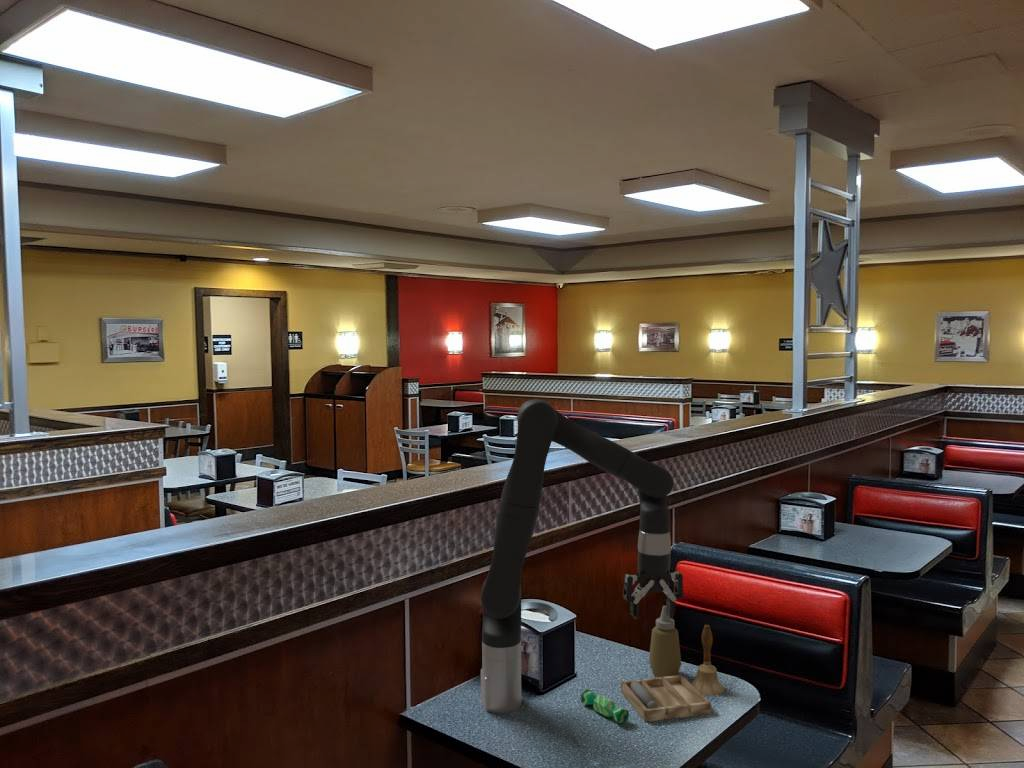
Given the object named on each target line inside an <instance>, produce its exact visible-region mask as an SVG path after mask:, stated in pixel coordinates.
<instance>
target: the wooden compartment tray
mask: <svg viewBox="0 0 1024 768" xmlns="http://www.w3.org/2000/svg"><path fill="white" fill-rule="evenodd" d="M633 681H638V682H639V683H640V684H641V685H642V686H643V688H644V689H645V690H646V691H647V692H648V693H649V695H650V696H651V697H652V698H653V699H654V700H655V701H656V703H657V705H658V707H657V708H651V709H648V708H647V707H646V706H645V705H644V704H643V702H642V701H641V700H640V699H639V698H638V696H637V695H636V694H635V693H634V692H633V690H632V689H631V683H632V682H633ZM620 693H621V694H622V695H623V697H624V698H625V699H626V700H627V701H628V702H629V704H630V705H631V706H632V708H633V709H634V710H635V711H636V713H637V714H638V715H639V717H641V719H642V720H643V722H644V723H648V722H647V721H649V722H655V721H656V722H657V721H664V719H665V720H671V719H672V718H673V719H679V718H678V717H680V718H685V717H687V718H688V717H692V716H693V717H694V716H700V715H706V714H711V712H712V711H711V710H712V709H711V706H712V704H711V702H710V701H709V700H708V699H707V697H705V695H702V694H701V693H700V692H699V691H698V690H697V689H696V688H695V687H694V686H693V685H692V684H691V682H690V681H689V680H688V679H687V678H686V677H685V676H684V675H682V674H677V675H676V676H666V677H657V678H656V677H651V678H650V677H649V678H641V679H632V680H624V681H623V680H622V681H620Z"/></svg>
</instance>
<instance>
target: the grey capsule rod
mask: <svg viewBox="0 0 1024 768" xmlns="http://www.w3.org/2000/svg"><path fill="white" fill-rule="evenodd" d="M631 689H632V690H633V692H634V693H635V694H636V695H637V696H638V698H639V699H640V700H641V701H642V702H643V704H644V705H645V706H646V707H647V708H648V709H651V708H657V707H658V705H657V703H656V701H655V700H654V699H653V698H652V697H651V696H650V695H649V693H648V692H647V691H646V690H645V689H644V688H643V686H642V685H641V684H640V683H639V682H638V681H633V682H632V683H631Z"/></svg>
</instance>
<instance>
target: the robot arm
mask: <svg viewBox="0 0 1024 768" xmlns="http://www.w3.org/2000/svg"><path fill="white" fill-rule="evenodd" d="M516 421H517V433H516V443H515V450H514V455H513V460H512V462H511V466H510V468H509V471H508V472H507V473H508V474H507V475H506V479H505V482H504V484H503V488H502V491H501V495H500V501H499V504H498V510H497V514H496V515H497V516H496V523H495V529H494V530H495V532H494V539H493V551H492V558H491V562H490V566H489V570H488V573H487V576H486V578H485V580H484V582H483V584H482V588H481V592H480V602H481V605H482V625H481V627H482V628H481V647H482V648H481V649H482V650H481V652H482V653H481V654H482V655H481V656H482V657H481V660H482V664H481V667H482V668H480V701H481V704H482V706H483V709H484V712H486V713H487V712H488V713H489V712H493V713H498V714H501V713H509V712H513V711H515V710H517V709H519V708H520V707H521V705H522V701H523V700H522V584H521V582H522V575H523V574H522V573H523V568H524V563H525V560H526V556H527V553H528V549H529V547H530V544H531V541H532V538H533V535H534V531H535V527H536V523H537V520H538V516H539V510H540V505H541V499H542V494H543V493H542V492H543V486H544V475H545V466H546V462H547V458H548V454H549V451H550V447H551V444H552V442H553V443H555V444H558V445H560V446H561V447H564V448H566V449H568V450H570V451H571V452H573V454H574V453H575V454H576V455H577V456H579V457H581V458H582V459H584V460H585V461H586V462H588V463H590V464H592V465H593V466H595V467H596V468H598V469H600V470H602V471H604V472H606V473H608V474H610V475H611V476H614V477H616V478H618V479H619V480H623V481H625V482H627V483H628V484H630V485H632V486H633V487H635V488H636V489H638V497H639V506H640V511H639V529H638V530H639V533H638V539H637V573H636V574H629V573H625V574H624V575H623V576H624V577H623V588H622V589H623V591H622V598H623V599H624V600H625V601H626V602H628V603H630V612H629V613H630V615H631V616H632V617H633V619H634V620H639V617H640V603H639V602H640V601H641V600H642V598H644V597H645V596H646V594H653V593H657V594H659V593H660V594H661V593H662V592H663V593H664V594H665V595H666V597H667V599H666V600H665V601H666V603H665V604H666V605H665V606H666V614H667V615H668V616H669V617H670V618H673V615H675V612H676V601H677V600H679V599H683V597H684V579H683V578H684V577H683V576H684V574H682V573H680V572H679V571H678V570H675V571H674V572H670V571H671V570H670V569H671V543H672V542H671V532H670V531H671V511H670V510H669V506H668V497H667V496H668V495H670V493H672V491H673V489H674V484H675V482H674V477H673V476H672V474H671V473H670V471H669V470H667V469H666V468H665V467H663V466H662V465H660V464H658V463H652V462H651V461H649V460H647V459H644V458H642V457H640V456H639V455H638V454H636V453H635V452H634V451H632V450H630V449H629V448H626V447H624V446H623V445H621V444H618V443H617V442H615V441H613V440H610V439H608V438H606V437H605V436H602V435H600V434H598V433H596V432H594V431H591V430H589V429H587V428H585V427H584V426H581V425H580V424H578V423H576V422H574V421H572V420H570V419H569V418H568V417H566V416H565V415H563V414H562V413H561V412H559V411H558V410H557V409H555V408H554V406H552V405H551V404H550V403H549V402H548V401H546V400H544V399H541V398H533V399H530V400H526V401H525V402H524V403H522V404H521V406H520V407H519V409H518V412H517V415H516ZM671 580H672V581H673V591H674V592H673V591H672V590H671V589H670V587H669V585H668V584H669V583H670V581H671ZM636 581H637V583H638V584H637V585H636V586H635V588H634V591H633V585H634V584H635V583H636Z"/></svg>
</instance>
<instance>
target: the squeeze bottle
mask: <svg viewBox="0 0 1024 768" xmlns="http://www.w3.org/2000/svg"><path fill="white" fill-rule="evenodd" d="M675 625H676V624H675V620H674V619H673V618H671V617H669V616H668V615H667V614H666V605H662V609H661V612H660V617H658V618H656V619H655V626H654V627H653V628H652V629H651V638H650V646H649V657H648V662H649V665H650V668H651V672H652V675H653V677H654V678H656V677H666V676H676V675H679V671H680V668H681V666H682V658H681V657H682V656H681V647H680V638H679V631H678V629H677V628H676V627H675Z"/></svg>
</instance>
